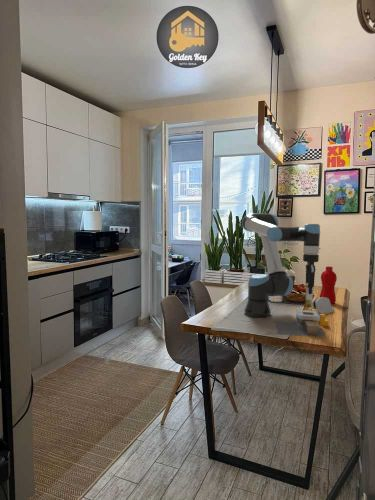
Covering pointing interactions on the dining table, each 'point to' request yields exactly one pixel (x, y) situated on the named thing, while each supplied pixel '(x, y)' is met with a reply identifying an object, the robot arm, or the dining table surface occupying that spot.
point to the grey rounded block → (322, 305)
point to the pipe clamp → (321, 319)
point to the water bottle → (328, 284)
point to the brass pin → (309, 302)
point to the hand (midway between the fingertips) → (308, 299)
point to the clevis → (308, 321)
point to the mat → (293, 329)
